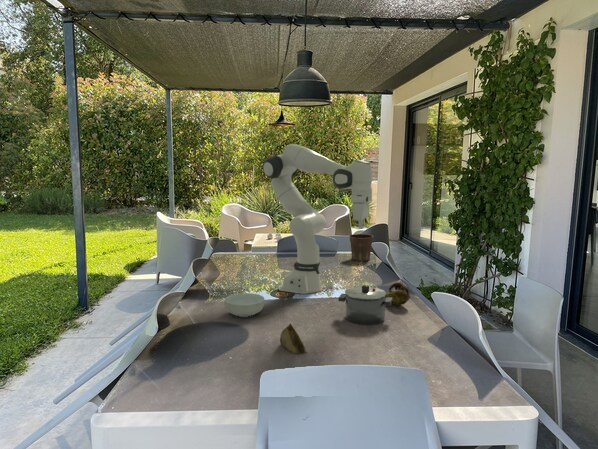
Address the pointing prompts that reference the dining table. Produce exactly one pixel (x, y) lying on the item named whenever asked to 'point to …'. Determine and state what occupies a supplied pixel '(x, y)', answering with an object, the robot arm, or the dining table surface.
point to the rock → (292, 340)
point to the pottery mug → (399, 287)
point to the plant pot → (361, 246)
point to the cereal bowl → (244, 304)
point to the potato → (398, 297)
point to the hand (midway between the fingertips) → (361, 228)
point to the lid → (365, 292)
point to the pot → (365, 309)
